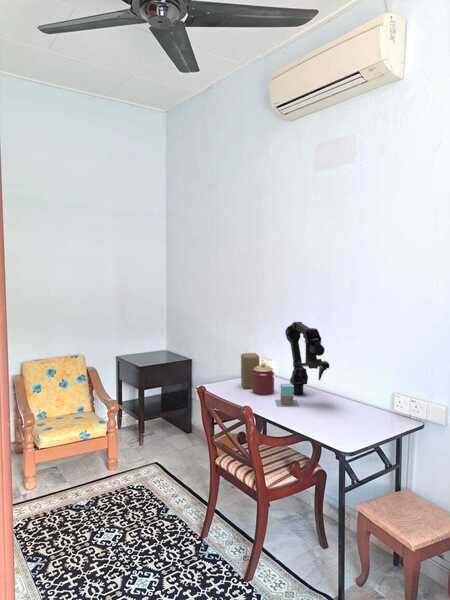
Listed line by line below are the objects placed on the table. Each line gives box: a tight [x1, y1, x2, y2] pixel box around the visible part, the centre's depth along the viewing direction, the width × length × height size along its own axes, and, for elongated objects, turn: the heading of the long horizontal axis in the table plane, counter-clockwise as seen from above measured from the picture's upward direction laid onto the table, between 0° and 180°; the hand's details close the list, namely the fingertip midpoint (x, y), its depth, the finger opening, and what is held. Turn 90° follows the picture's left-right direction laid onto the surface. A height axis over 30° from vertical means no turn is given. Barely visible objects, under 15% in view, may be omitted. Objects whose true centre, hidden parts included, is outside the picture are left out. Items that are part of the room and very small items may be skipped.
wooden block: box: [240, 352, 260, 390], centre depth 269 cm, size 10×10×20 cm
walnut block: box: [280, 393, 294, 405], centre depth 236 cm, size 6×6×5 cm
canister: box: [251, 362, 275, 396], centre depth 257 cm, size 13×13×18 cm
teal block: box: [280, 383, 294, 397], centre depth 236 cm, size 6×6×5 cm
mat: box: [274, 399, 301, 408], centre depth 236 cm, size 12×12×1 cm
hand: (310, 380), depth 236 cm, fingers open, 9 cm apart
